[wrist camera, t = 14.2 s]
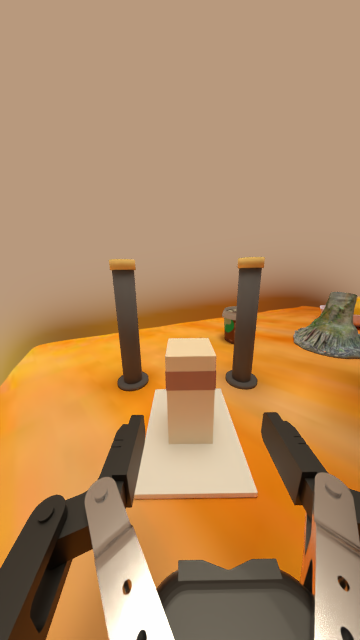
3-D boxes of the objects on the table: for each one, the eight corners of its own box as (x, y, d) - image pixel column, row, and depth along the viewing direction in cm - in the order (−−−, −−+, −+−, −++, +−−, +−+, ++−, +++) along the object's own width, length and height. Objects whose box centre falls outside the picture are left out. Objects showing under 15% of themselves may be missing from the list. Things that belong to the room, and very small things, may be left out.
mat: (220, 391, 33) (220, 388, 33) (257, 497, 17) (257, 492, 17) (155, 392, 33) (155, 389, 33) (134, 499, 17) (133, 494, 17)
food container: (223, 332, 65) (224, 305, 63) (240, 333, 63) (242, 306, 61) (218, 344, 54) (220, 312, 52) (239, 346, 52) (242, 313, 50)
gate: (249, 371, 39) (260, 259, 33) (262, 389, 33) (278, 256, 27) (123, 373, 39) (111, 261, 33) (113, 391, 33) (96, 258, 27)
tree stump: (277, 343, 56) (290, 286, 54) (307, 344, 66) (318, 297, 65) (355, 365, 40) (376, 286, 39) (378, 362, 51) (395, 301, 49)
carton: (206, 410, 27) (208, 337, 24) (213, 444, 22) (216, 356, 19) (170, 410, 27) (168, 338, 24) (168, 444, 22) (164, 356, 19)
